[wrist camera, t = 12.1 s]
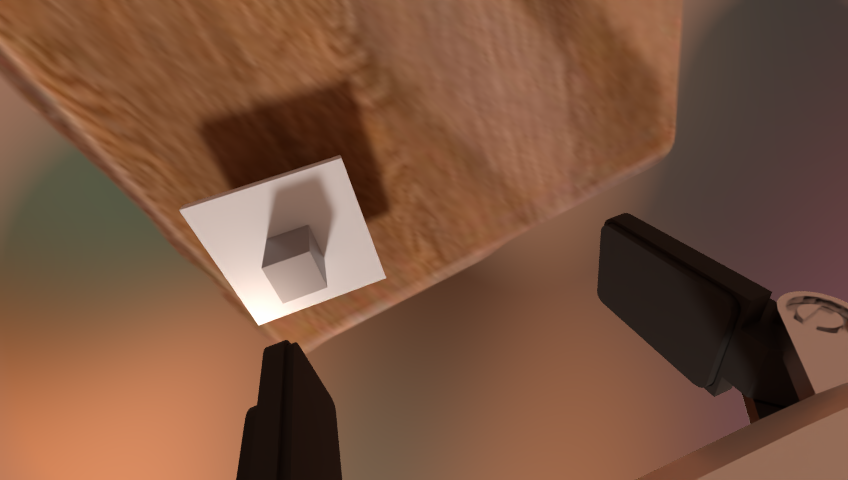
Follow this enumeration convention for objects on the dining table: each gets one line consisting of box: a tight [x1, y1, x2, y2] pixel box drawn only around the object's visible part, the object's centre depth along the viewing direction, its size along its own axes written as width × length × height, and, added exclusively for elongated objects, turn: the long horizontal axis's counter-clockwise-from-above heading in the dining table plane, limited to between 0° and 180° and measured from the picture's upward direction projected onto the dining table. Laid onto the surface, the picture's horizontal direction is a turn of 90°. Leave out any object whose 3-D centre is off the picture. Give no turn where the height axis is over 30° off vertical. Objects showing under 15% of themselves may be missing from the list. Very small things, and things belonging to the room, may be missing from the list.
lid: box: [179, 155, 386, 325], centre depth 33 cm, size 14×14×6 cm
